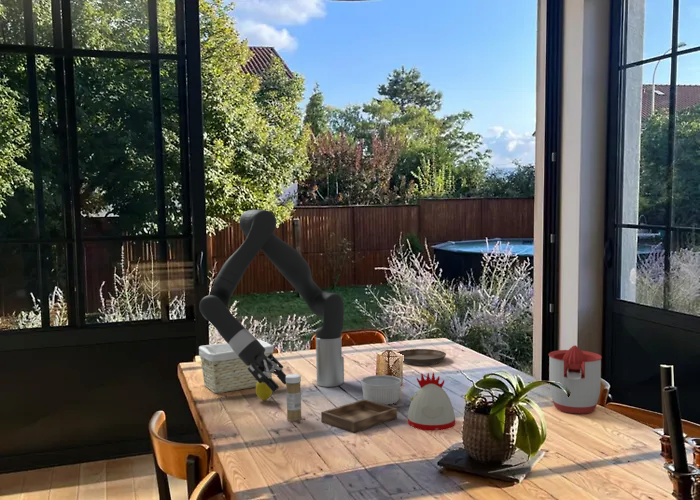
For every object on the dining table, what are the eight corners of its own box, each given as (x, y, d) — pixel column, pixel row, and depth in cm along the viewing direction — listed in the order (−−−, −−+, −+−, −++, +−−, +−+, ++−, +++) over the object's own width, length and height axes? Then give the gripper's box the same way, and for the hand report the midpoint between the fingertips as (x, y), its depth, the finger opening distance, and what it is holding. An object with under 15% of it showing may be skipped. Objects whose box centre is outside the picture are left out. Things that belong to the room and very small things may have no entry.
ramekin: (409, 400, 215) (409, 379, 215) (384, 409, 206) (383, 387, 205) (379, 392, 224) (378, 372, 224) (353, 401, 215) (352, 380, 214)
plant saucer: (397, 355, 282) (397, 347, 282) (446, 355, 279) (445, 348, 279) (394, 366, 262) (394, 358, 261) (446, 367, 259) (446, 359, 258)
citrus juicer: (546, 415, 196) (546, 350, 195) (549, 399, 213) (549, 339, 212) (602, 420, 191) (602, 353, 190) (601, 403, 207) (601, 341, 206)
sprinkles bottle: (298, 415, 200) (297, 372, 200) (303, 420, 196) (302, 376, 195) (284, 418, 198) (283, 374, 198) (289, 422, 194) (288, 378, 194)
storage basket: (211, 395, 224) (210, 353, 223) (198, 385, 239) (197, 345, 238) (276, 385, 236) (275, 345, 235) (259, 376, 250) (258, 337, 249)
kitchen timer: (406, 415, 199) (406, 367, 198) (451, 415, 199) (451, 366, 198) (409, 431, 185) (408, 379, 184) (457, 430, 185) (457, 378, 184)
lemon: (269, 403, 213) (269, 379, 213) (253, 403, 215) (252, 379, 214) (274, 398, 219) (274, 375, 218) (259, 398, 220) (258, 374, 220)
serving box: (364, 408, 207) (364, 399, 207) (397, 418, 197) (396, 408, 196) (321, 421, 194) (321, 412, 194) (354, 433, 184) (353, 422, 184)
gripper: (244, 343, 193) (281, 384, 190) (264, 334, 206) (298, 372, 204) (228, 360, 195) (264, 400, 192) (249, 350, 208) (283, 387, 206)
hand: (282, 386), depth 198 cm, fingers open, 8 cm apart
